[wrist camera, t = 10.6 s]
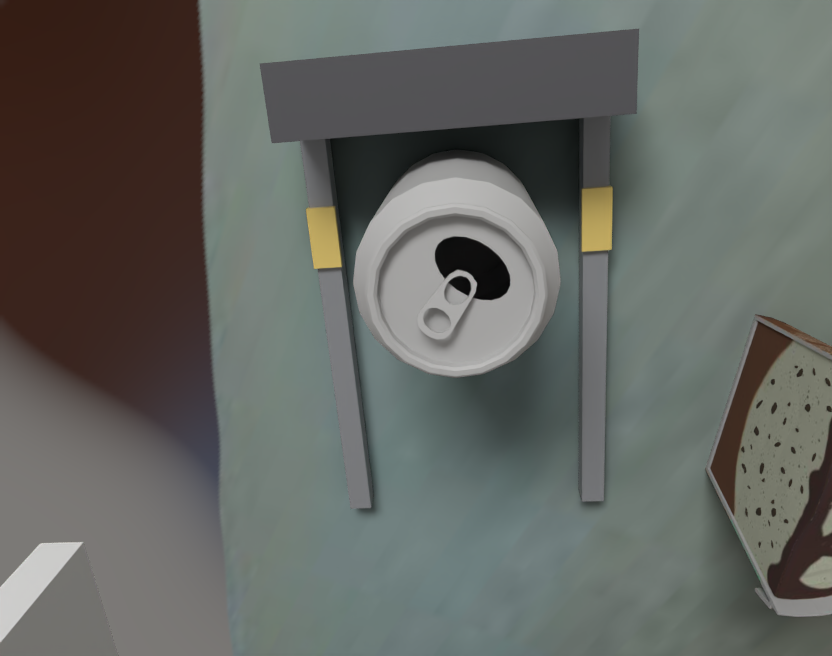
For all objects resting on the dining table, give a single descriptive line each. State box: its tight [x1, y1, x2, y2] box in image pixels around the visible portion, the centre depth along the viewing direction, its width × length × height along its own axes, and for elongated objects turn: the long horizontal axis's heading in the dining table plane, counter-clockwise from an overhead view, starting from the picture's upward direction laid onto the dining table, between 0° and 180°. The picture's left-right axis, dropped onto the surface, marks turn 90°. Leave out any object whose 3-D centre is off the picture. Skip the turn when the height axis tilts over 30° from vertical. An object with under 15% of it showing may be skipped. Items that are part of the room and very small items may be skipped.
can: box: [353, 149, 561, 378], centre depth 28 cm, size 8×8×12 cm
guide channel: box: [260, 29, 639, 509], centre depth 32 cm, size 24×15×6 cm, turn 5°
